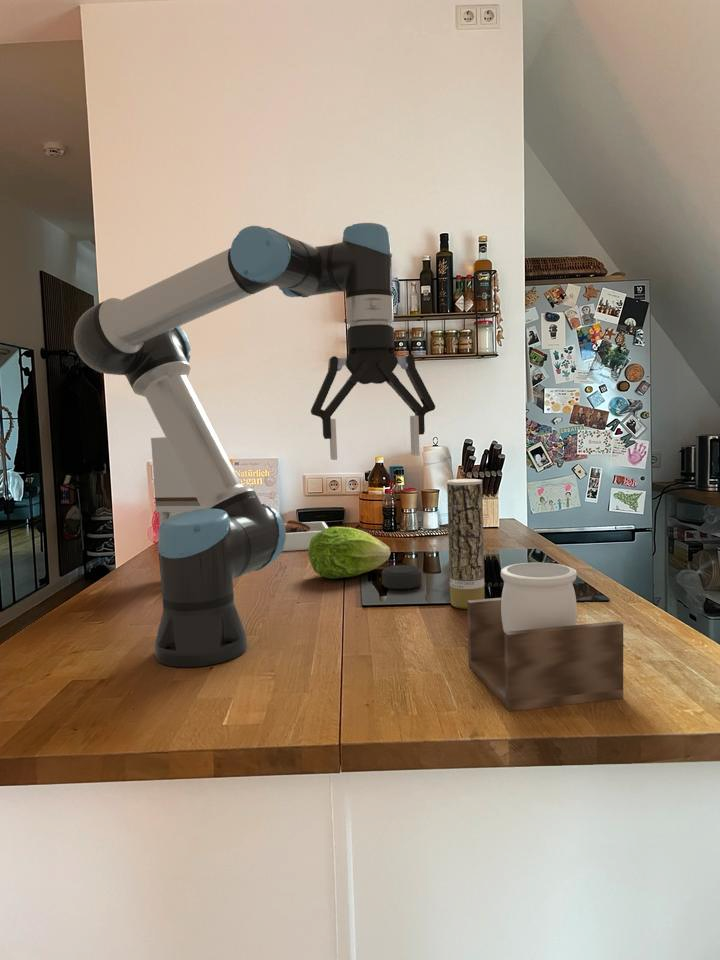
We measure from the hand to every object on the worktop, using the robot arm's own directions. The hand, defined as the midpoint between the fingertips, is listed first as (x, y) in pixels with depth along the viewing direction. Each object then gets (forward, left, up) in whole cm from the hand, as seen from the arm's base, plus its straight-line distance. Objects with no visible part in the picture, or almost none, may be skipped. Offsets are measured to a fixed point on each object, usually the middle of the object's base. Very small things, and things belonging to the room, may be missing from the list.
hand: (375, 457), depth 112 cm
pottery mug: (-8, +94, -32) cm, 100 cm away
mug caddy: (-6, +94, -32) cm, 99 cm away
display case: (-35, +56, -32) cm, 73 cm away
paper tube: (+21, +18, -32) cm, 42 cm away
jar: (+19, -21, -31) cm, 42 cm away
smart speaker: (+12, +37, -32) cm, 50 cm away
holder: (+19, -21, -32) cm, 43 cm away
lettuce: (+3, +51, -32) cm, 60 cm away
